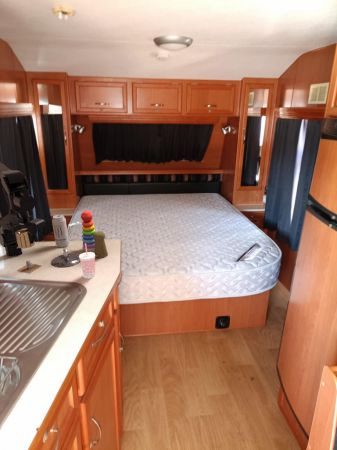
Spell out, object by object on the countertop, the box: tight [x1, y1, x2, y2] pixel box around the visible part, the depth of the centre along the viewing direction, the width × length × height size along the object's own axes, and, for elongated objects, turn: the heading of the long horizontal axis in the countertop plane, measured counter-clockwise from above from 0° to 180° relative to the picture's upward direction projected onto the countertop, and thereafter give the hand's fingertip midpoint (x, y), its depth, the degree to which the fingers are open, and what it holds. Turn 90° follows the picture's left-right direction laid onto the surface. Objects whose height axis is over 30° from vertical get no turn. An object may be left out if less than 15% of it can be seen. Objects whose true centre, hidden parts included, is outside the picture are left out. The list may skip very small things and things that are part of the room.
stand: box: [16, 260, 42, 275], centre depth 134 cm, size 7×7×4 cm
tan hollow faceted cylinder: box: [15, 227, 36, 249], centre depth 130 cm, size 6×6×6 cm
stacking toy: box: [80, 210, 97, 253], centre depth 149 cm, size 8×8×19 cm
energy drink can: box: [51, 214, 70, 249], centre depth 154 cm, size 6×6×15 cm
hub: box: [50, 248, 81, 269], centre depth 140 cm, size 13×13×6 cm
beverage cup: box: [78, 243, 96, 279], centre depth 127 cm, size 6×6×14 cm
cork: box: [93, 231, 109, 259], centre depth 144 cm, size 6×6×11 cm
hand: (26, 242), depth 131 cm, fingers closed on tan hollow faceted cylinder, 6 cm apart
